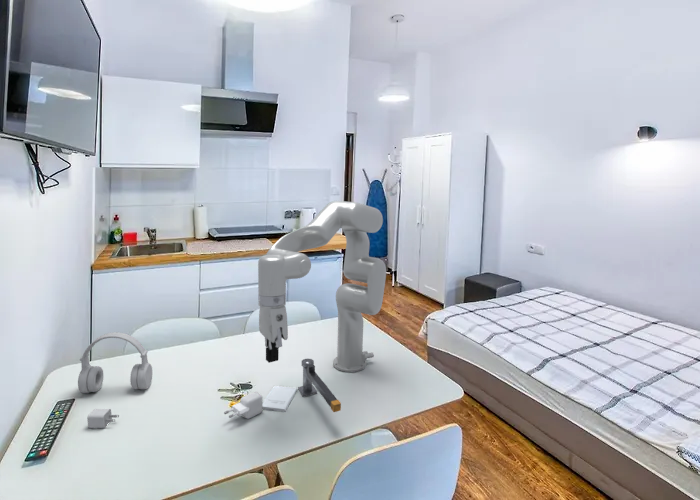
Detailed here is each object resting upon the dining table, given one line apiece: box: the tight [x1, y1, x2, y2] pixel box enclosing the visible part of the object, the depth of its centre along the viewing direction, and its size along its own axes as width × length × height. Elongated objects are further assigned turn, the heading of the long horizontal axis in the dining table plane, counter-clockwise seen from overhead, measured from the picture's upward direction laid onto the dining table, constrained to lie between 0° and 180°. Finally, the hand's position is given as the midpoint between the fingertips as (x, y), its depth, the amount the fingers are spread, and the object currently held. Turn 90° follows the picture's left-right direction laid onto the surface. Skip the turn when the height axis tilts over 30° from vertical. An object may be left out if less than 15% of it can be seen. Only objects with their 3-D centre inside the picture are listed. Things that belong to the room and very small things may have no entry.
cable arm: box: [301, 358, 342, 413], centre depth 123 cm, size 26×4×4 cm, turn 26°
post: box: [297, 366, 318, 398], centre depth 134 cm, size 5×5×9 cm
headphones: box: [77, 331, 153, 394], centre depth 131 cm, size 20×8×19 cm, turn 100°
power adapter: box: [223, 391, 264, 420], centre depth 119 cm, size 11×5×6 cm, turn 137°
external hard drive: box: [262, 385, 298, 413], centre depth 130 cm, size 2×8×12 cm
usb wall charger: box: [86, 408, 120, 429], centre depth 114 cm, size 4×7×4 cm, turn 93°
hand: (272, 360), depth 116 cm, fingers closed
